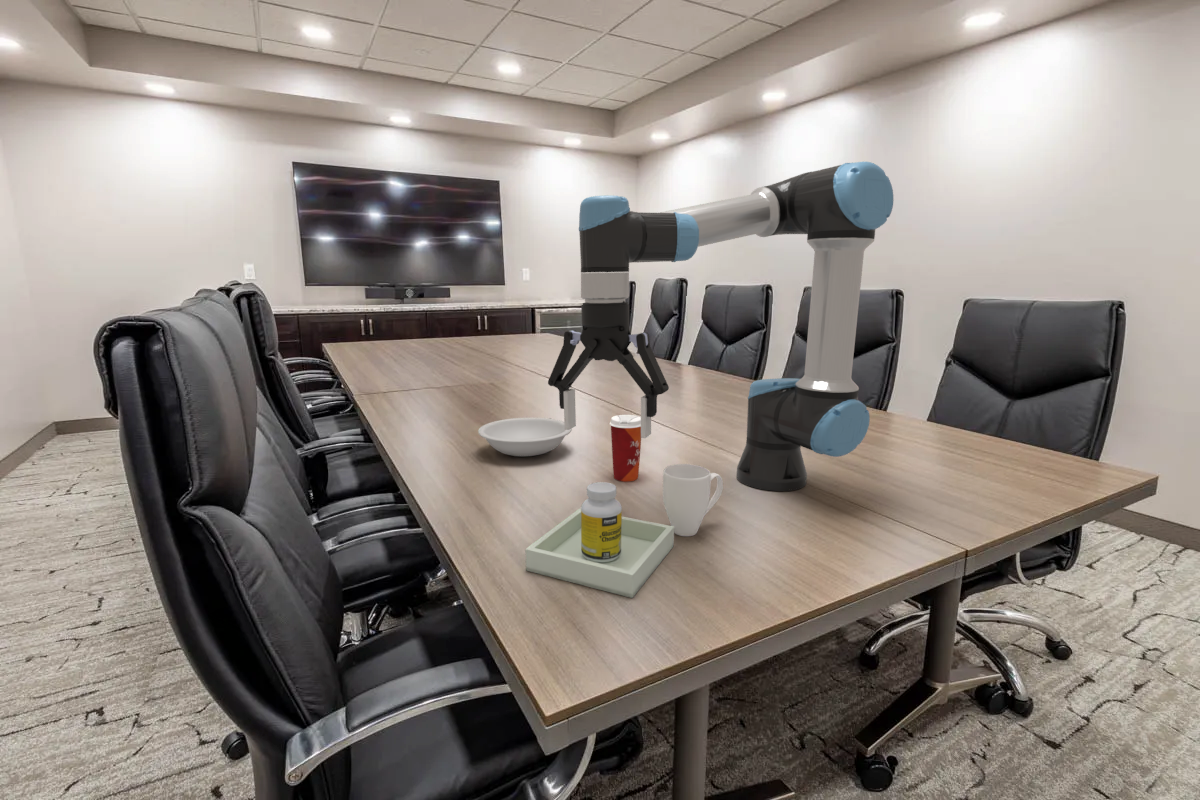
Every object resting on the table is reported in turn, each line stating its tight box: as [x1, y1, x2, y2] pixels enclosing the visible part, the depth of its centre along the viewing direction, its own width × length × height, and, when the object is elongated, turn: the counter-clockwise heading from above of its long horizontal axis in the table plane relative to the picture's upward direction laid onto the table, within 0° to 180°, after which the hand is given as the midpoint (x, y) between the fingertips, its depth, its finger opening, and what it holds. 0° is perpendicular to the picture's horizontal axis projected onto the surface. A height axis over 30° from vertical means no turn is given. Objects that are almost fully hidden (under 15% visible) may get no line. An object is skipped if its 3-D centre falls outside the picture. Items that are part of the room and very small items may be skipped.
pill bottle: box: [580, 481, 623, 562], centre depth 92 cm, size 6×6×12 cm
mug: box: [662, 463, 724, 537], centre depth 103 cm, size 12×8×11 cm
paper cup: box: [608, 414, 642, 483], centre depth 130 cm, size 8×8×14 cm
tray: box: [524, 507, 675, 599], centre depth 93 cm, size 18×18×4 cm
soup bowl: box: [477, 417, 573, 457], centre depth 149 cm, size 24×24×7 cm
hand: (607, 432), depth 95 cm, fingers open, 13 cm apart
